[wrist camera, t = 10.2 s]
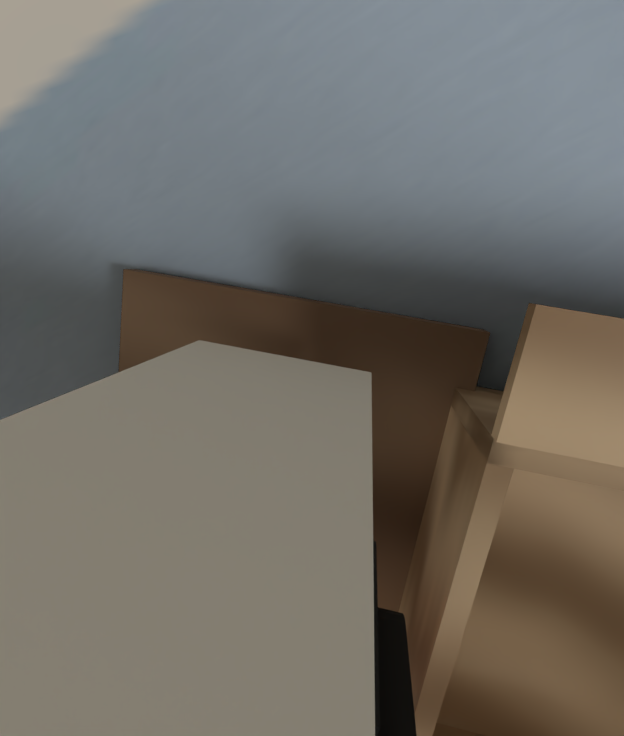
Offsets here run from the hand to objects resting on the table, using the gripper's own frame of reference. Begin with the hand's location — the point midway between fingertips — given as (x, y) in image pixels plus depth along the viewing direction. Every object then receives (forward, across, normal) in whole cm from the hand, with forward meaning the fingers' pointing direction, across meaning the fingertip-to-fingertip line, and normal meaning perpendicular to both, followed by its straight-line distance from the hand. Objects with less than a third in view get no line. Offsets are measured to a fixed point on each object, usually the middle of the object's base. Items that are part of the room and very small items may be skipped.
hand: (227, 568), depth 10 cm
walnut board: (+6, 0, 0) cm, 6 cm away
